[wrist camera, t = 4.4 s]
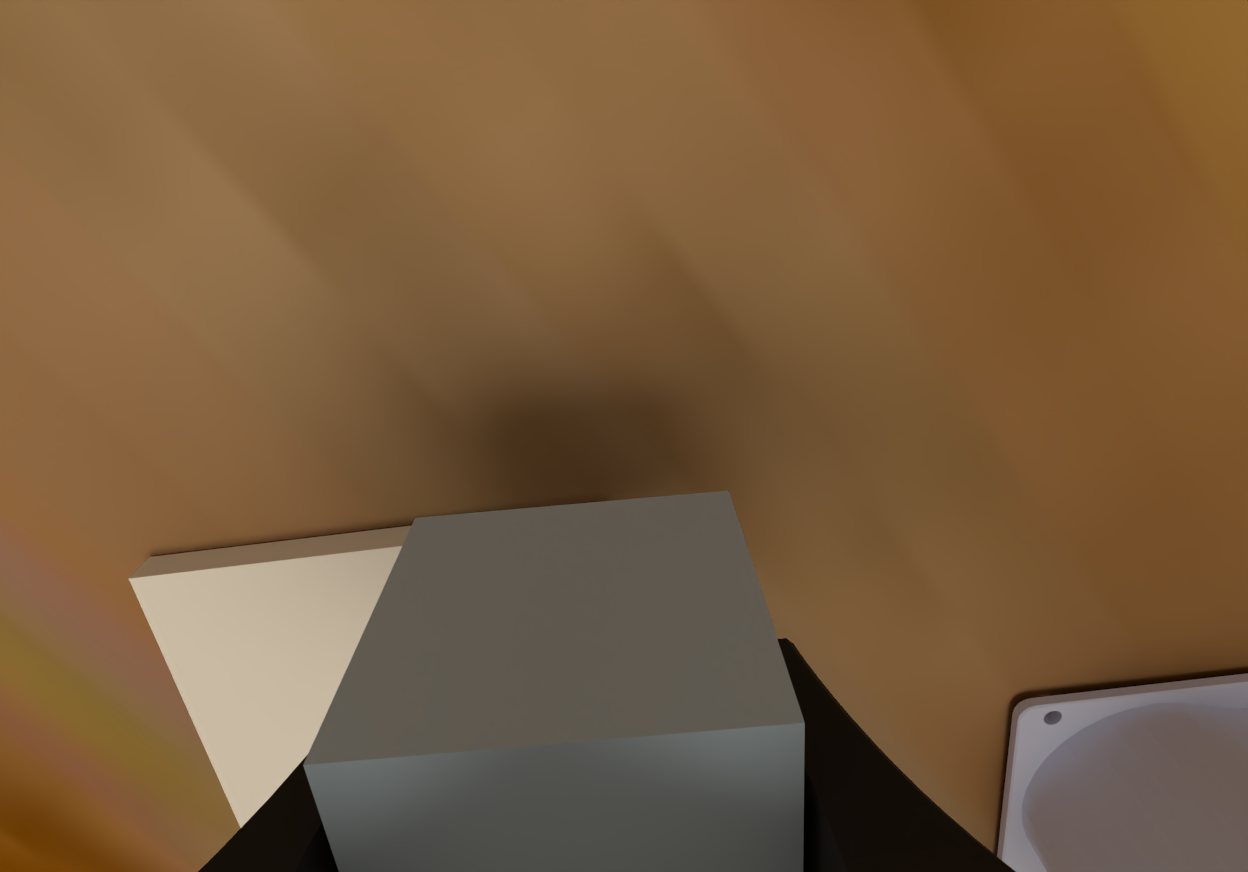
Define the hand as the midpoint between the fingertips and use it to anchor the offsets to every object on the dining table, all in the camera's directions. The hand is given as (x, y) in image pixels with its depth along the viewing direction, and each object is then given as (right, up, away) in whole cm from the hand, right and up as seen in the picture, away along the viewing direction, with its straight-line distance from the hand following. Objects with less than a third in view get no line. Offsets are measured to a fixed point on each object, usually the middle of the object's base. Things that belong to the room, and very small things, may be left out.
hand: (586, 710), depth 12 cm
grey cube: (0, +1, +1) cm, 2 cm away
